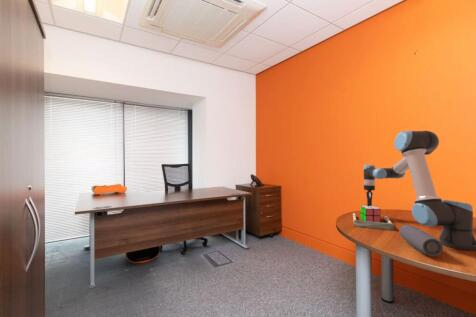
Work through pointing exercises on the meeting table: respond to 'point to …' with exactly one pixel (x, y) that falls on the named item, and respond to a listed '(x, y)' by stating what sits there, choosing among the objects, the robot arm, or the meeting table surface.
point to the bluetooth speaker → (421, 240)
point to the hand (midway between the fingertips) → (369, 215)
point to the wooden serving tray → (374, 224)
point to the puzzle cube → (370, 213)
